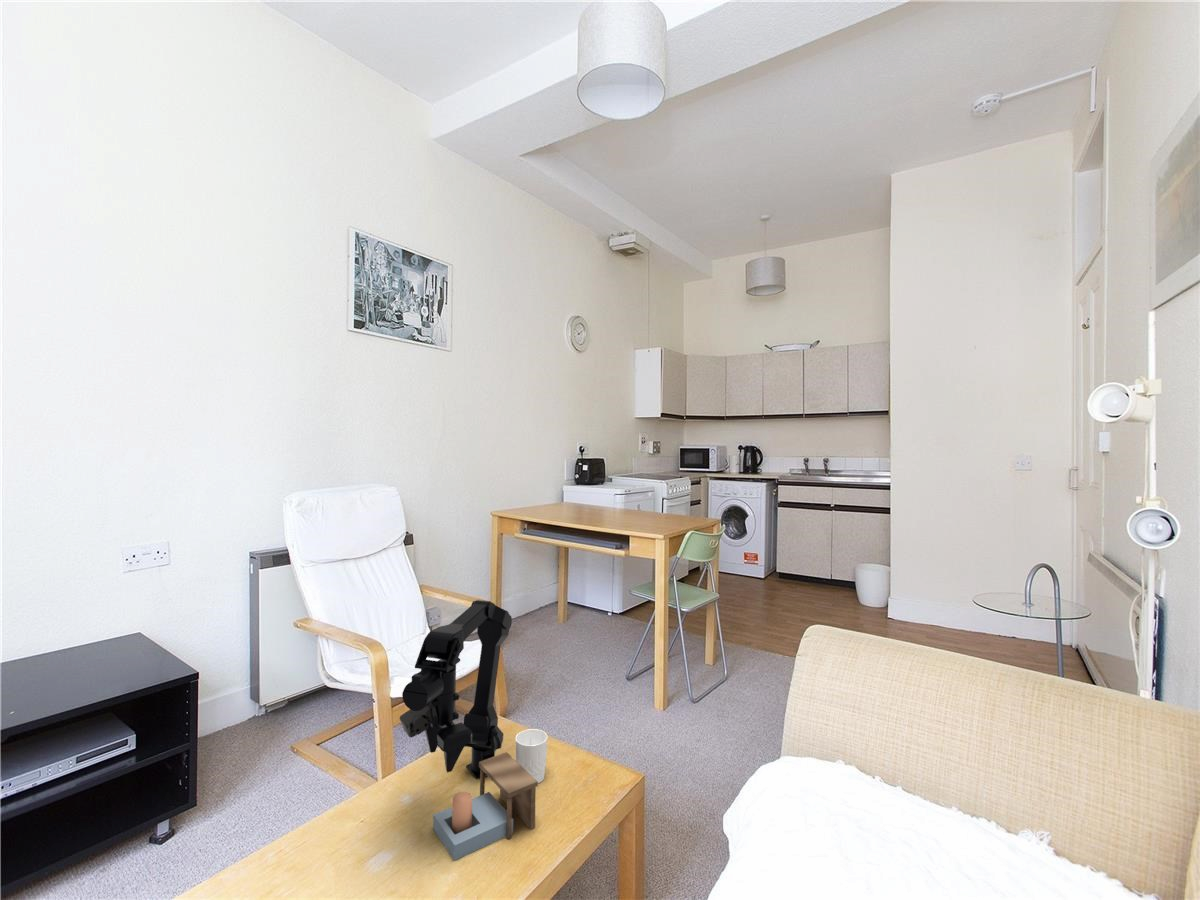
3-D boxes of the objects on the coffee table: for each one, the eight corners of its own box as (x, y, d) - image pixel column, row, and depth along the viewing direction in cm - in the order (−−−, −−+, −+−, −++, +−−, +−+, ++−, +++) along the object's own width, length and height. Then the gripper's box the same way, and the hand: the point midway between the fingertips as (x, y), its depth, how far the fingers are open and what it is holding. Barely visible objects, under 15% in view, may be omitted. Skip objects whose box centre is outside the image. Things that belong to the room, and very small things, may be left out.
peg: (448, 834, 114) (449, 796, 114) (466, 826, 117) (467, 789, 117) (456, 845, 111) (457, 806, 111) (474, 837, 114) (475, 799, 114)
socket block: (433, 828, 116) (433, 814, 116) (489, 804, 124) (489, 791, 124) (454, 860, 107) (454, 845, 107) (513, 832, 115) (513, 818, 115)
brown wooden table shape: (478, 805, 124) (478, 762, 124) (505, 793, 128) (506, 751, 128) (507, 840, 113) (508, 793, 113) (536, 826, 117) (537, 781, 117)
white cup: (553, 777, 135) (554, 737, 135) (528, 791, 129) (529, 749, 129) (532, 764, 140) (533, 725, 140) (508, 777, 134) (508, 737, 134)
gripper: (390, 683, 121) (389, 754, 121) (420, 717, 106) (419, 797, 106) (439, 671, 127) (438, 738, 127) (473, 702, 113) (472, 777, 113)
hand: (440, 761), depth 118 cm, fingers open, 9 cm apart
